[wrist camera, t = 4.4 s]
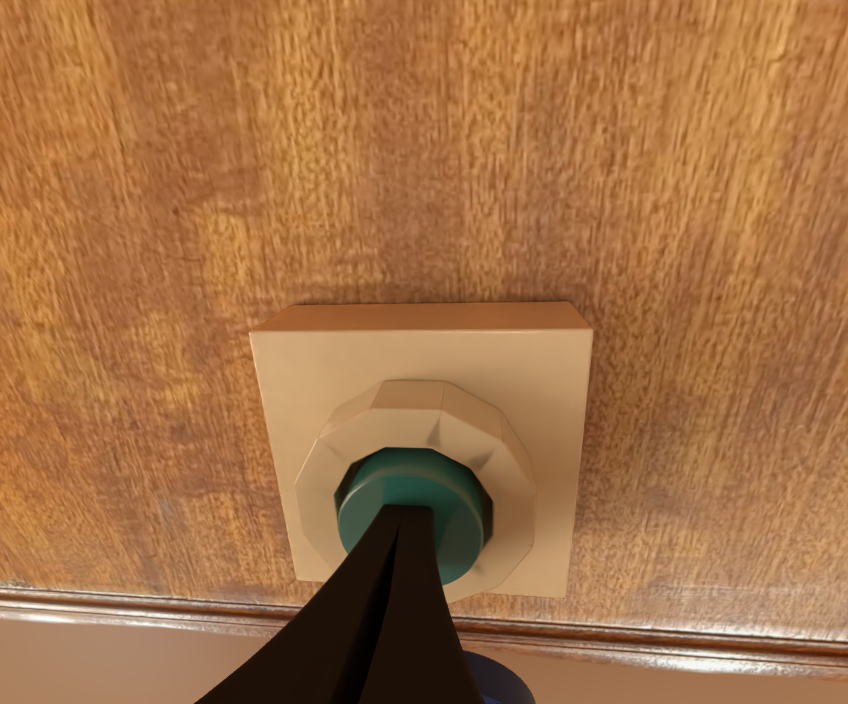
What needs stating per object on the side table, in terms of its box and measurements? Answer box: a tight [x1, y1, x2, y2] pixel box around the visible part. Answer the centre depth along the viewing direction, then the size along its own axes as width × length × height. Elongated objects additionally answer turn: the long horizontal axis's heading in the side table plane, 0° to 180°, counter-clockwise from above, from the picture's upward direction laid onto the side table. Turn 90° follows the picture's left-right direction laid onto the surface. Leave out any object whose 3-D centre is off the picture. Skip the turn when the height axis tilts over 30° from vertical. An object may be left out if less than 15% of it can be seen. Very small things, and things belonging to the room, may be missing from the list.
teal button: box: [338, 447, 484, 586], centre depth 12 cm, size 4×4×2 cm
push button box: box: [249, 301, 594, 604], centre depth 15 cm, size 10×10×5 cm
